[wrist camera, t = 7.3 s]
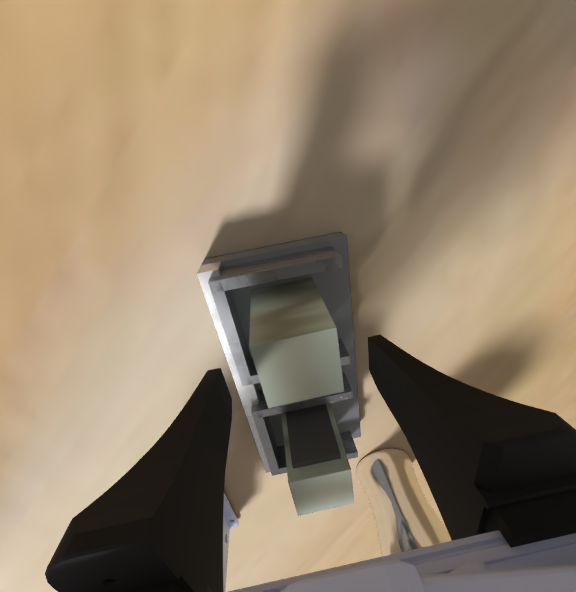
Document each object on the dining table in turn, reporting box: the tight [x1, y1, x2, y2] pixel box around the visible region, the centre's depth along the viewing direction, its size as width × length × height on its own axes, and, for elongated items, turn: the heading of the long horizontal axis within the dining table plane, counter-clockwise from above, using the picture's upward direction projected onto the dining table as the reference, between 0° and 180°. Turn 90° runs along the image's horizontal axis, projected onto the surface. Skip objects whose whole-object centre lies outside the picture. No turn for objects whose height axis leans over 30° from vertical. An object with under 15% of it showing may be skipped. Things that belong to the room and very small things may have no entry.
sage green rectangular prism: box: [249, 277, 344, 408], centre depth 16 cm, size 4×4×6 cm
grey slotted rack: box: [197, 232, 361, 516], centre depth 19 cm, size 19×9×7 cm, turn 9°
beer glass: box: [356, 448, 452, 557], centre depth 23 cm, size 7×7×15 cm
